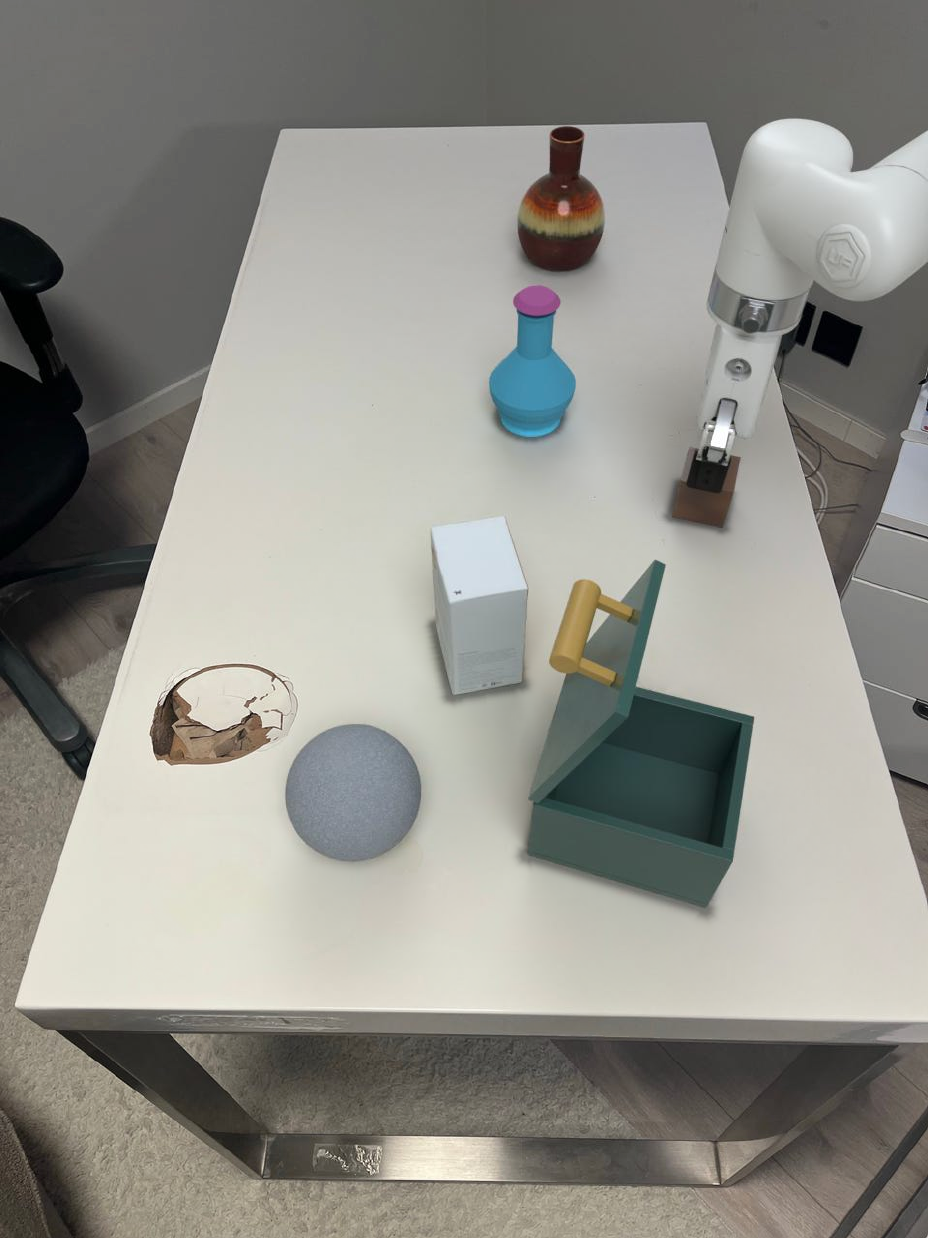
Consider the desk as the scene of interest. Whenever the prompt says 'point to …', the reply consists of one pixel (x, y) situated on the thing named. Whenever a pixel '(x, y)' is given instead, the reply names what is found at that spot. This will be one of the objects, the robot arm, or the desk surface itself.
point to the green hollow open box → (653, 800)
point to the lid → (595, 672)
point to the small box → (479, 604)
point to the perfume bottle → (533, 370)
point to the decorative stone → (353, 792)
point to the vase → (561, 208)
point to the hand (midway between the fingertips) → (711, 453)
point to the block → (705, 496)
